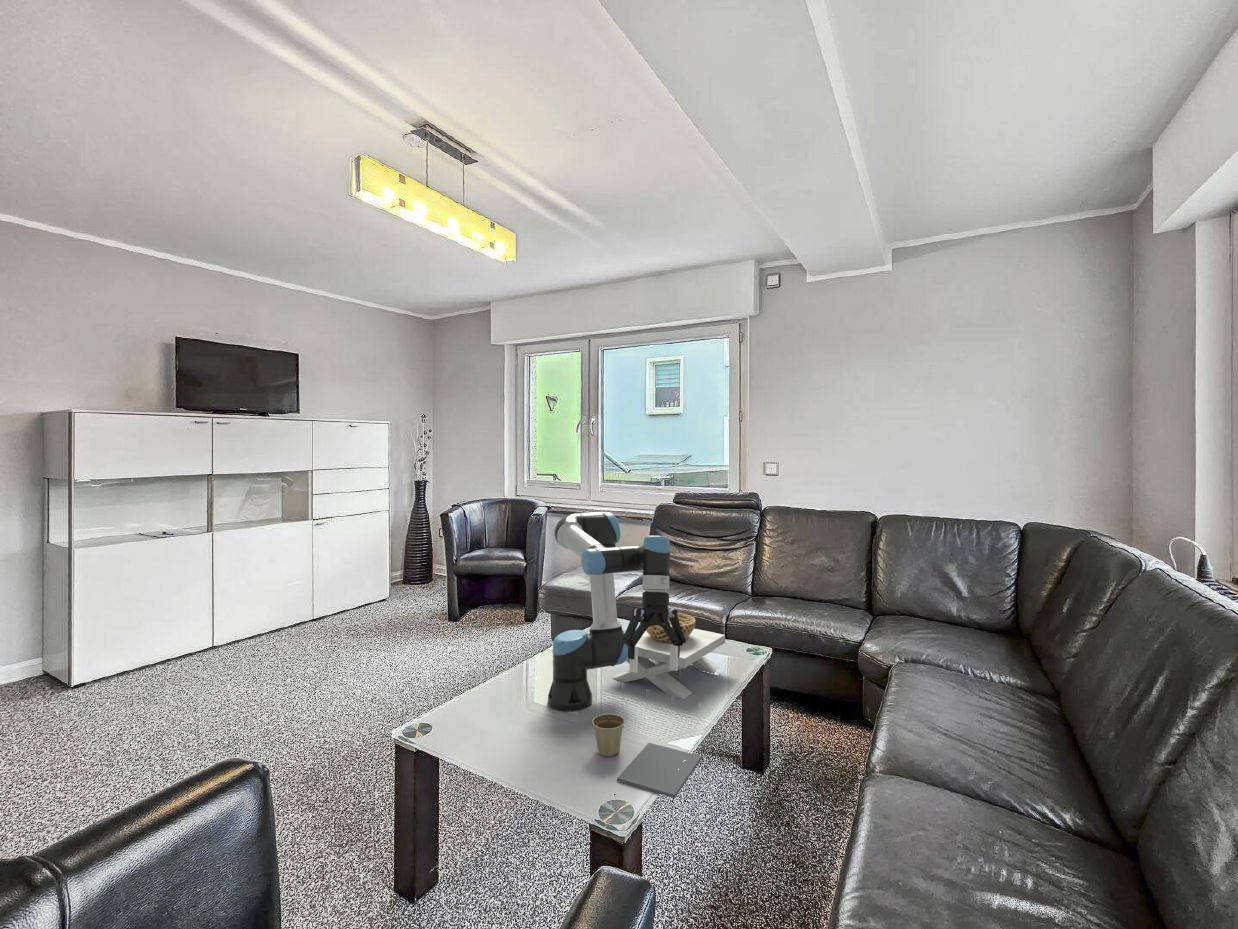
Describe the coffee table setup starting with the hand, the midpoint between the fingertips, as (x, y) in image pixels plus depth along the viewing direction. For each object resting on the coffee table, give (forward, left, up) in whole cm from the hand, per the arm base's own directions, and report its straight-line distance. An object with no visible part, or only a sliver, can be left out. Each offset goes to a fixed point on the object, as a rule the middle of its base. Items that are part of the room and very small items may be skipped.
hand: (654, 671), depth 151 cm
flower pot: (0, -14, -26) cm, 30 cm away
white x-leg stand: (-60, -20, -26) cm, 69 cm away
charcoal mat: (+2, +3, -25) cm, 26 cm away
